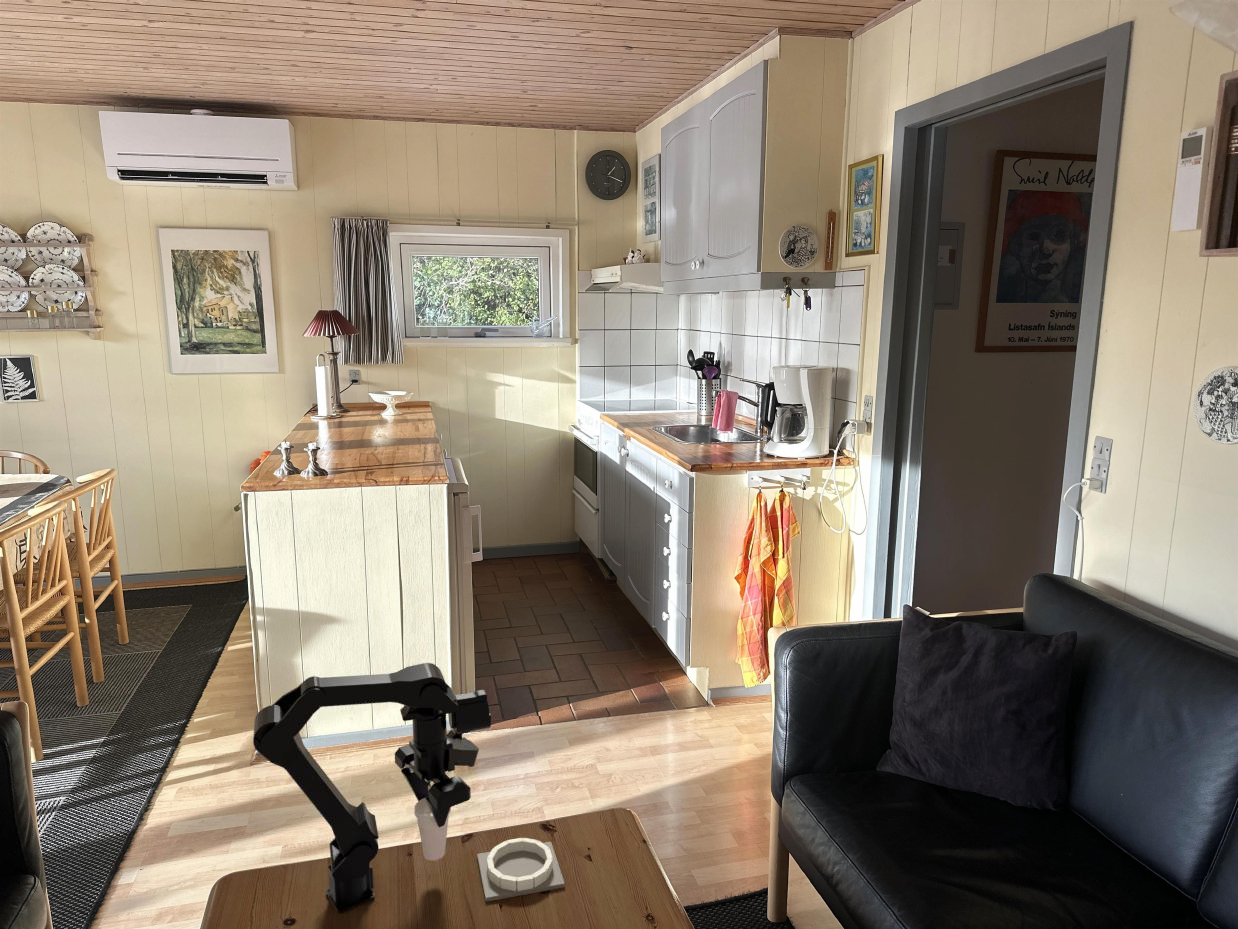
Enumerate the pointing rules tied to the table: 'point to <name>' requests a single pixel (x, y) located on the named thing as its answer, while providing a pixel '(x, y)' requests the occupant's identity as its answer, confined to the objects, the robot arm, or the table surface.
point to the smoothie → (430, 831)
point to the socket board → (519, 869)
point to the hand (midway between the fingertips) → (432, 816)
